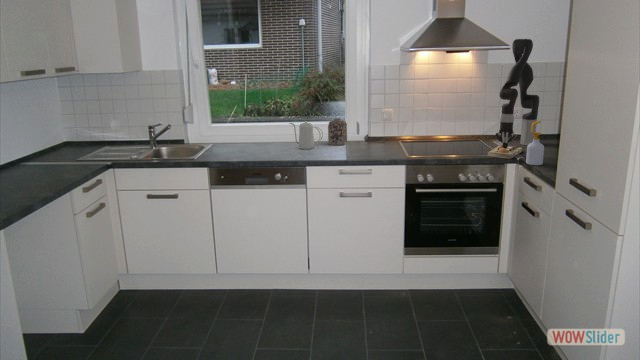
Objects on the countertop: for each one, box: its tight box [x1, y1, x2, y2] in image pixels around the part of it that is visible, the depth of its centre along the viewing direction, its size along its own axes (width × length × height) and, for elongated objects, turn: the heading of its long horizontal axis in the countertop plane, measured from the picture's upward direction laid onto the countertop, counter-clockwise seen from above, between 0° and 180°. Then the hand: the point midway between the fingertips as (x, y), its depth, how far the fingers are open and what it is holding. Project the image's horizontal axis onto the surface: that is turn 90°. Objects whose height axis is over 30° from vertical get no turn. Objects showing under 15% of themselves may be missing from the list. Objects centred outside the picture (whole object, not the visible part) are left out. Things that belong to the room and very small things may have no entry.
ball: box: [498, 148, 507, 153], centre depth 321 cm, size 5×5×5 cm
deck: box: [487, 144, 523, 160], centre depth 326 cm, size 24×14×4 cm, turn 144°
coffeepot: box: [288, 120, 324, 150], centre depth 358 cm, size 11×25×19 cm, turn 68°
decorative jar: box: [327, 117, 348, 146], centre depth 370 cm, size 12×12×18 cm
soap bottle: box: [525, 120, 545, 166], centre depth 297 cm, size 9×9×25 cm
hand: (505, 148), depth 325 cm, fingers closed
